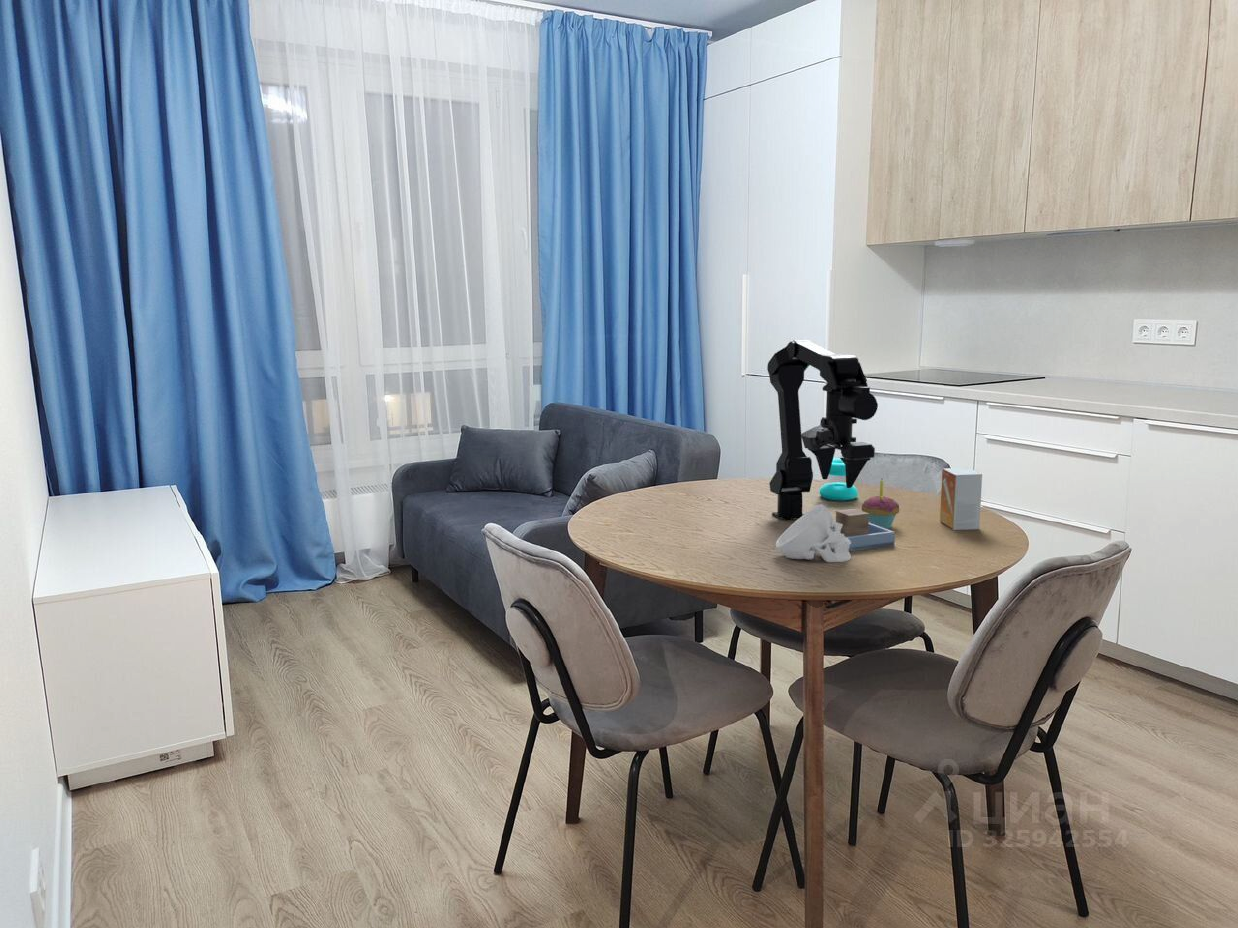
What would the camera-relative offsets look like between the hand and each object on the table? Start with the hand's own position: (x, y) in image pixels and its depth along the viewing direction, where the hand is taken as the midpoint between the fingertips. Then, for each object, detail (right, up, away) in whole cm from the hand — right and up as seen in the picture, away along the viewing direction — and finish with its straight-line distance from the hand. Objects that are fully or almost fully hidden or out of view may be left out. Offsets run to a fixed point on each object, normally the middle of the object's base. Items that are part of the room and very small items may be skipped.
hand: (836, 483), depth 201 cm
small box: (+31, -10, +11) cm, 35 cm away
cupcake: (+13, -11, +12) cm, 20 cm away
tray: (+3, -13, -1) cm, 13 cm away
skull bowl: (-8, -15, -12) cm, 21 cm away
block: (+3, -12, -1) cm, 13 cm away
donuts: (+11, -5, +43) cm, 44 cm away
